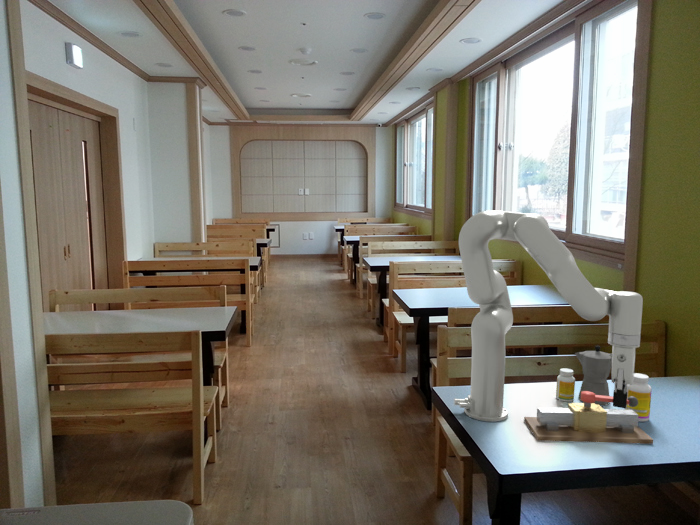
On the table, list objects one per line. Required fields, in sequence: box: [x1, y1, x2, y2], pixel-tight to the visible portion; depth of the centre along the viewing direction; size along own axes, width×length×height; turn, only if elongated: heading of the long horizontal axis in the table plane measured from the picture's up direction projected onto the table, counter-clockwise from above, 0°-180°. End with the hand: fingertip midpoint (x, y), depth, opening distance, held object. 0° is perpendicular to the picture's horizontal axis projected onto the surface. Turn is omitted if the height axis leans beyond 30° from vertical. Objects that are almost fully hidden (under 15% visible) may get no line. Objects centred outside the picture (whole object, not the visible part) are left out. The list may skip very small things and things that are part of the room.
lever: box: [580, 391, 638, 408], centre depth 149 cm, size 14×4×4 cm, turn 74°
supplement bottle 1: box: [555, 367, 576, 403], centre depth 176 cm, size 5×5×10 cm
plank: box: [523, 416, 654, 445], centre depth 152 cm, size 30×13×1 cm, turn 88°
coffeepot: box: [574, 345, 612, 406], centre depth 174 cm, size 15×9×18 cm, turn 68°
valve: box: [536, 402, 639, 434], centre depth 152 cm, size 26×6×6 cm, turn 88°
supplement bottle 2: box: [623, 372, 652, 423], centre depth 162 cm, size 7×7×13 cm
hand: (619, 406), depth 146 cm, fingers closed
